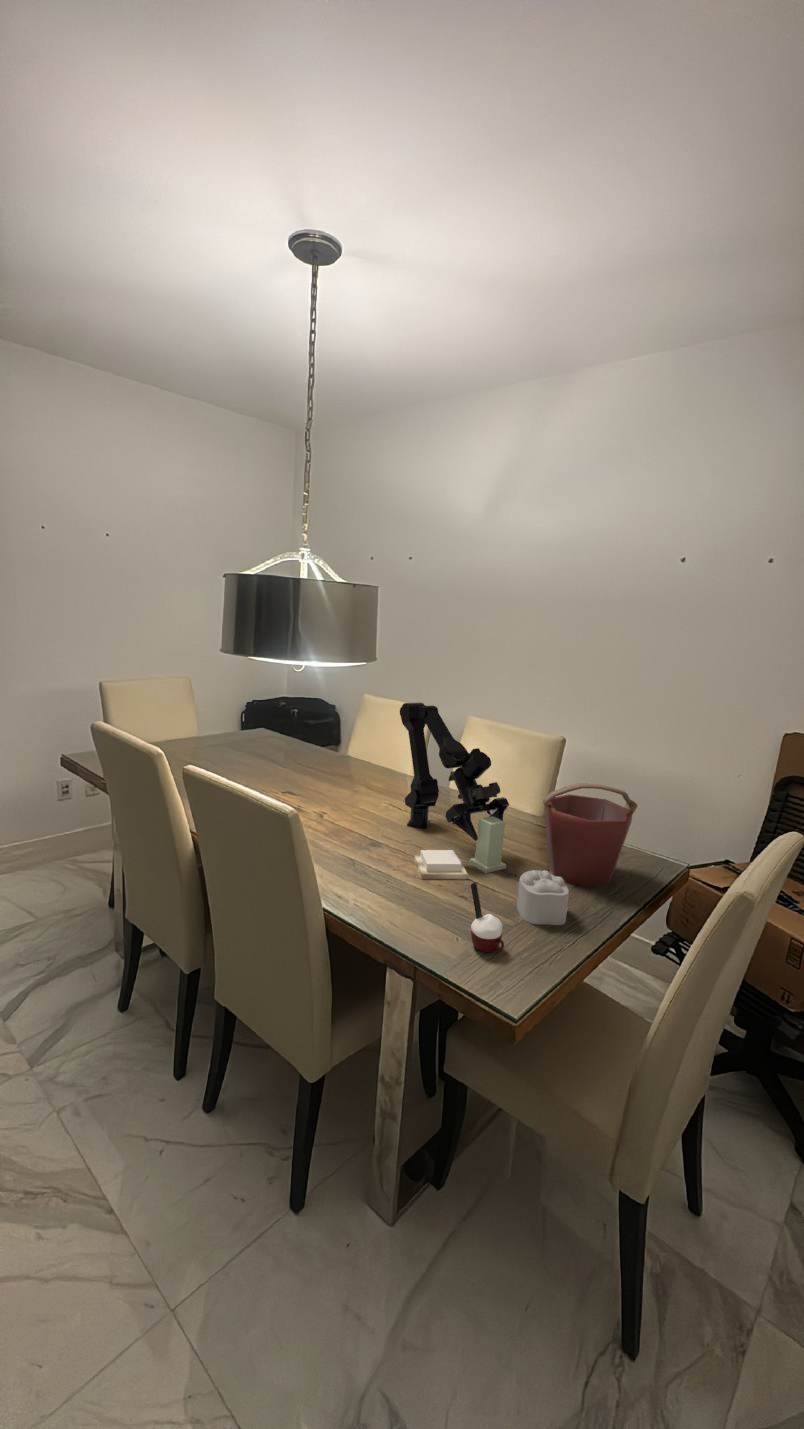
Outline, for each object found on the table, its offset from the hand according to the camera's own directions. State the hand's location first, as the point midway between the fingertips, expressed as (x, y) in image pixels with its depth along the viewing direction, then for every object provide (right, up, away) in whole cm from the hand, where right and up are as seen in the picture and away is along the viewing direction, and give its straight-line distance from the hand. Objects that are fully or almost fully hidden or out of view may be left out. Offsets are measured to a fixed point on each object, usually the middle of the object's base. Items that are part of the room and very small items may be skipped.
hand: (489, 837), depth 163 cm
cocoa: (-7, -15, -39) cm, 42 cm away
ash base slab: (-14, -8, -3) cm, 16 cm away
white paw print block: (+8, -13, -22) cm, 27 cm away
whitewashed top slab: (-14, -6, -3) cm, 15 cm away
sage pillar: (0, -8, +1) cm, 8 cm away
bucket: (+25, -10, 0) cm, 27 cm away
